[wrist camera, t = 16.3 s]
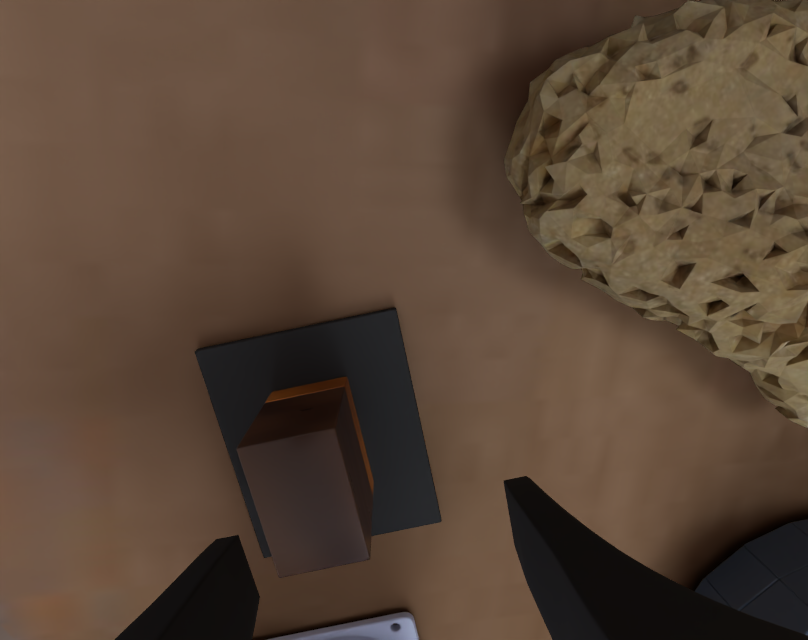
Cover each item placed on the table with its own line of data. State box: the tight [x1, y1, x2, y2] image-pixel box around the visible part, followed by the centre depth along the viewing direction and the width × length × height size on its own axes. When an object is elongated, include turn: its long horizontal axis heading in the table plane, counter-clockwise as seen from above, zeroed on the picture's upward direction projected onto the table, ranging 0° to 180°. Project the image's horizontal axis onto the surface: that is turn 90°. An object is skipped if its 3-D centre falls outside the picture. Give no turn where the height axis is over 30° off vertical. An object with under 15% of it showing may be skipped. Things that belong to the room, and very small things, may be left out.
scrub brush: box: [237, 377, 374, 578], centre depth 19 cm, size 4×6×5 cm, turn 12°
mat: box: [195, 308, 441, 558], centre depth 21 cm, size 9×11×1 cm
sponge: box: [504, 0, 808, 428], centre depth 17 cm, size 13×8×20 cm
